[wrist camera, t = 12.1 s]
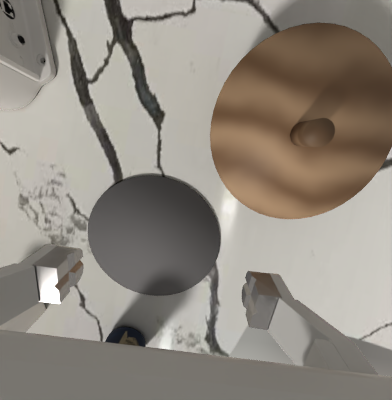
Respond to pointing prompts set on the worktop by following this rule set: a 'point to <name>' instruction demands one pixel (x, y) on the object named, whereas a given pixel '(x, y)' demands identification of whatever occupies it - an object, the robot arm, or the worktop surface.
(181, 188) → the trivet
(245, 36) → the worktop surface
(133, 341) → the canister
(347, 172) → the lid
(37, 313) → the jar
